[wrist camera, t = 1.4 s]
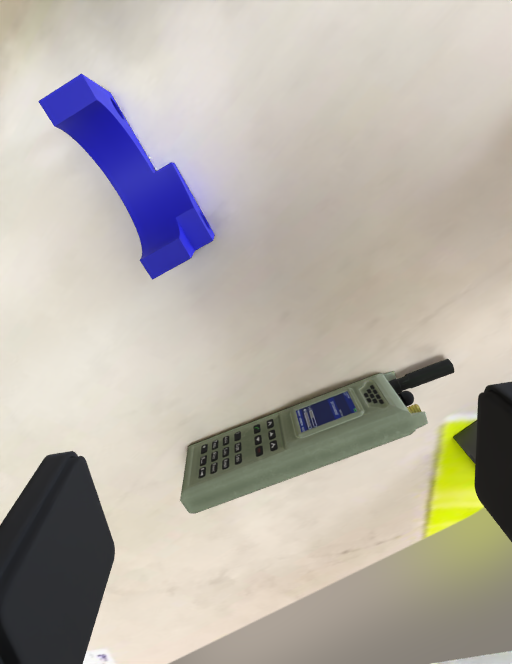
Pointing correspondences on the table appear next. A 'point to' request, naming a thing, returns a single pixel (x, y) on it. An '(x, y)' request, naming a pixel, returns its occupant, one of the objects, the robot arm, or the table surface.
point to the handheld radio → (304, 437)
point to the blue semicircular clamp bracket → (132, 174)
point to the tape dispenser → (468, 440)
